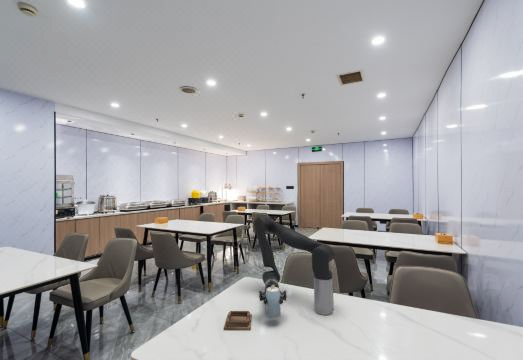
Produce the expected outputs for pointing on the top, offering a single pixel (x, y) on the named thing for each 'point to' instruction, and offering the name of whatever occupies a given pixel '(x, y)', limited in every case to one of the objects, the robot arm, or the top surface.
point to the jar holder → (238, 320)
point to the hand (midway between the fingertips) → (273, 302)
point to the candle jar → (273, 301)
